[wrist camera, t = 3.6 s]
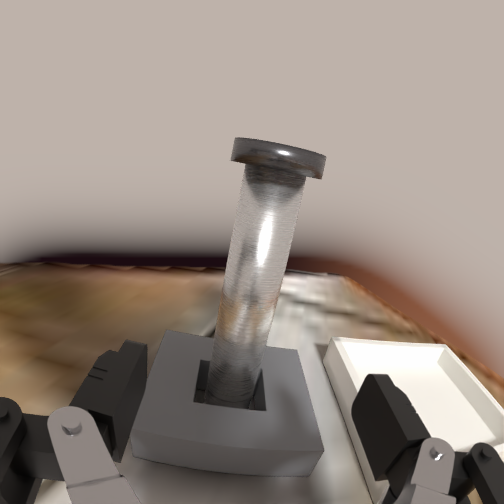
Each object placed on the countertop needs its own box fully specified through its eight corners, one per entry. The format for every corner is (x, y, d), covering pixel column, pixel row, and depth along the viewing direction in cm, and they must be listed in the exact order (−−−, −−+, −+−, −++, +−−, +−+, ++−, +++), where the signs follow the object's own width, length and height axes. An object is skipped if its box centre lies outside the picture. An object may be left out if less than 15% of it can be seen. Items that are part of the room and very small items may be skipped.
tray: (374, 505, 13) (396, 482, 13) (322, 361, 30) (331, 336, 29) (508, 463, 15) (528, 440, 14) (435, 365, 31) (445, 344, 30)
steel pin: (187, 431, 18) (233, 134, 13) (195, 387, 23) (235, 140, 18) (258, 440, 19) (338, 157, 14) (255, 396, 23) (314, 157, 18)
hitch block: (132, 456, 15) (129, 427, 14) (164, 357, 26) (166, 329, 25) (308, 476, 16) (324, 450, 15) (288, 376, 26) (296, 349, 26)
